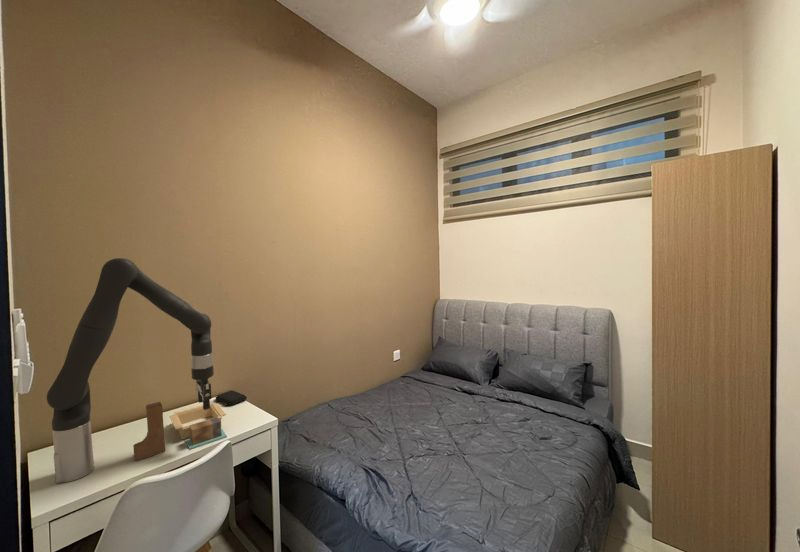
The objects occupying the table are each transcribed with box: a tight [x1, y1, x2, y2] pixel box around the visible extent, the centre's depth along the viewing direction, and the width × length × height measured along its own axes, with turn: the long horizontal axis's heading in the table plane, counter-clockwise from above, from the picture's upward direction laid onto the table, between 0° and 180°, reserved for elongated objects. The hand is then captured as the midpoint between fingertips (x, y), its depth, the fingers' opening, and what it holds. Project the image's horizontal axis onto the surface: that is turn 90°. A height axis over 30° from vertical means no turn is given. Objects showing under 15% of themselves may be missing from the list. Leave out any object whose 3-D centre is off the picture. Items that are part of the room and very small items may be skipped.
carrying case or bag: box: [215, 389, 248, 407], centre depth 173 cm, size 11×3×15 cm
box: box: [189, 417, 222, 445], centre depth 137 cm, size 10×5×6 cm, turn 131°
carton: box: [169, 402, 227, 440], centre depth 147 cm, size 18×19×5 cm
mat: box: [185, 428, 228, 450], centre depth 137 cm, size 13×8×1 cm, turn 131°
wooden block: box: [133, 401, 166, 462], centre depth 127 cm, size 9×4×18 cm, turn 131°
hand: (204, 405), depth 136 cm, fingers open, 8 cm apart
